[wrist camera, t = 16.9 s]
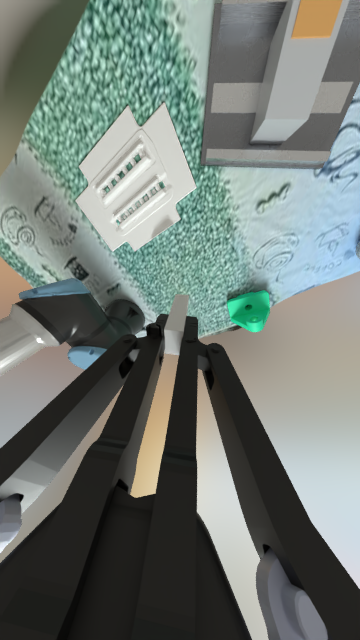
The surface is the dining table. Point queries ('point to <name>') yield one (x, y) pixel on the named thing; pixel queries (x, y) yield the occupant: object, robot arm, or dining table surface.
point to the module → (296, 67)
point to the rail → (246, 81)
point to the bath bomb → (358, 250)
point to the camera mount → (250, 310)
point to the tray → (135, 180)
